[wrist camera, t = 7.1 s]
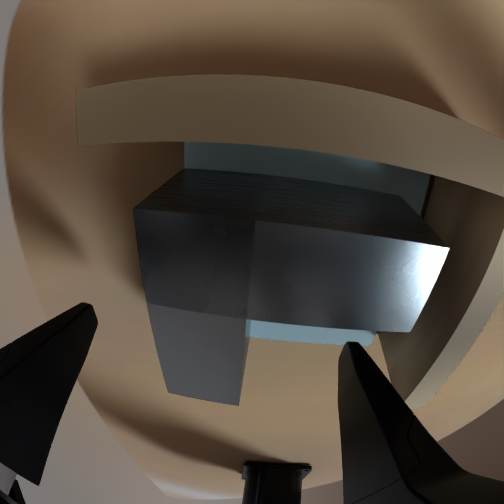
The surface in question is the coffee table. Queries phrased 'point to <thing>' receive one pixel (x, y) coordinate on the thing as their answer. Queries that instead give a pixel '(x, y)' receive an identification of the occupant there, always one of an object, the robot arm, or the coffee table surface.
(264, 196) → the bracket
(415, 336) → the corner walls
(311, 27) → the coffee table surface
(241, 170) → the pad
